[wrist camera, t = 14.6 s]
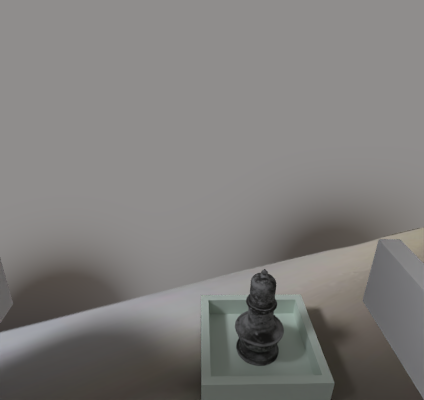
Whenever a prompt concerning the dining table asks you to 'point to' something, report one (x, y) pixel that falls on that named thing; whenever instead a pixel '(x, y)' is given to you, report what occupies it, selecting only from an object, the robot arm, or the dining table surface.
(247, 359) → the salt shaker
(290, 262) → the dining table surface
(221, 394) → the tray
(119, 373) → the dining table surface
